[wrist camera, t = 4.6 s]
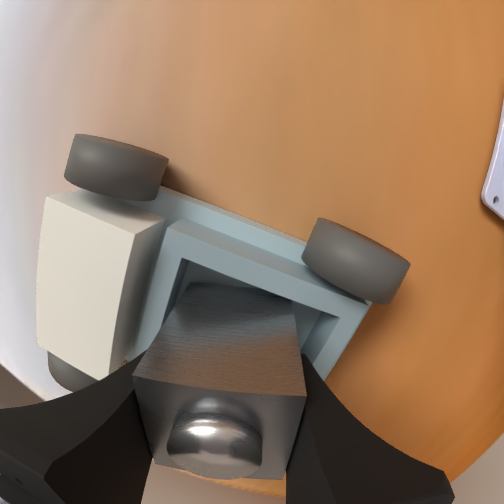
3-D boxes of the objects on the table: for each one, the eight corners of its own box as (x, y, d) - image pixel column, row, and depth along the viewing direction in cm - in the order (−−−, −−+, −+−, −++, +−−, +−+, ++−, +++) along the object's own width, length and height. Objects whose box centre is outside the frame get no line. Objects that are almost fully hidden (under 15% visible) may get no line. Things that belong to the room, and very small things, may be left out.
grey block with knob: (289, 290, 12) (309, 414, 5) (278, 369, 13) (282, 494, 6) (190, 282, 12) (122, 391, 5) (192, 361, 13) (150, 477, 7)
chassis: (387, 246, 13) (430, 277, 9) (285, 418, 16) (287, 472, 12) (107, 137, 12) (52, 131, 8) (71, 333, 15) (33, 371, 11)
